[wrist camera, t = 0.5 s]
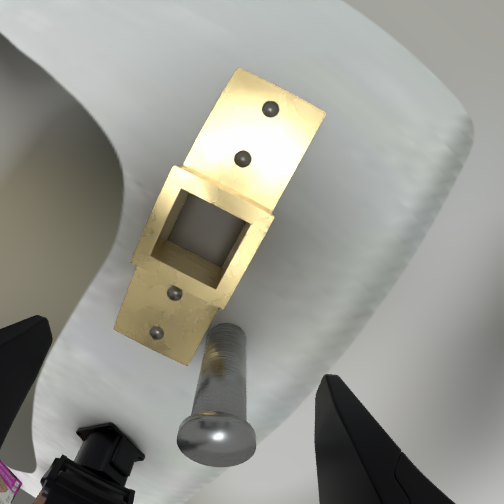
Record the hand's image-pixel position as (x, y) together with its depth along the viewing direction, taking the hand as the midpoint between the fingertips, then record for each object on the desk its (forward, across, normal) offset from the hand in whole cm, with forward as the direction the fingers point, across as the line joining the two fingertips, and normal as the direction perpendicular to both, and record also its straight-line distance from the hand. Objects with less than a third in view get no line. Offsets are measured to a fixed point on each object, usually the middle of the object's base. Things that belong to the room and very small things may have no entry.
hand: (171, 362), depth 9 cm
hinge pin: (+14, -1, +10) cm, 17 cm away
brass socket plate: (+15, +2, +1) cm, 15 cm away
